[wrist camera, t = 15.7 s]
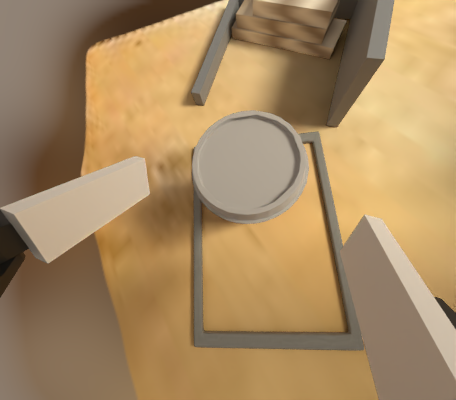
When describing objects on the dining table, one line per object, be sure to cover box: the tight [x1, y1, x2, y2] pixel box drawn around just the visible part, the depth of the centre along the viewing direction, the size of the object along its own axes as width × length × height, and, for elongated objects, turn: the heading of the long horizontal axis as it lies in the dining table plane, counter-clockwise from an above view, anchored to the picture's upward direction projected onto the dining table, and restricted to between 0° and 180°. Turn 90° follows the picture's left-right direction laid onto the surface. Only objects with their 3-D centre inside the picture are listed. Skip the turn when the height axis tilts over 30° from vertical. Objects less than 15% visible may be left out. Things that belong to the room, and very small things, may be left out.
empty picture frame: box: [194, 132, 364, 350], centre depth 25 cm, size 19×2×30 cm
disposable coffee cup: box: [192, 110, 309, 224], centre depth 19 cm, size 10×10×12 cm
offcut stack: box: [232, 0, 346, 59], centre depth 29 cm, size 18×6×6 cm, turn 63°
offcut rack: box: [191, 0, 394, 127], centre depth 26 cm, size 23×23×10 cm
